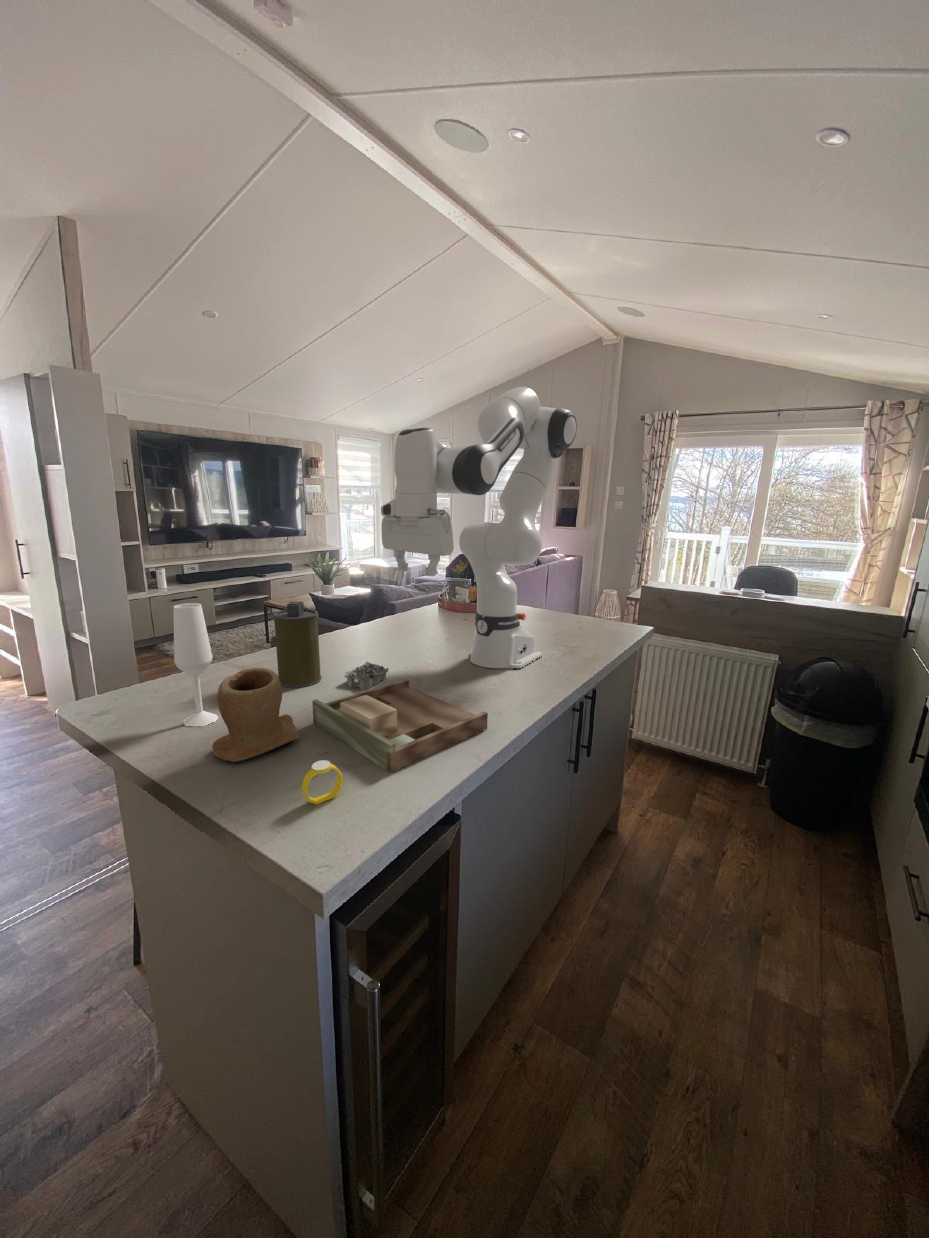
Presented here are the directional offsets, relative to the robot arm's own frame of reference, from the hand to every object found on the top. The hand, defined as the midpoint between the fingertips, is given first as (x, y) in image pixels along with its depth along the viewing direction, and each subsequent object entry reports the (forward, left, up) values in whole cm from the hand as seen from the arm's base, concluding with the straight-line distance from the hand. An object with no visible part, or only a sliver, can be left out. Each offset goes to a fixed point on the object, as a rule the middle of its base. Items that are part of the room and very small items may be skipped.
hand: (416, 573), depth 108 cm
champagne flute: (+40, -21, -29) cm, 54 cm away
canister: (+14, -29, -29) cm, 44 cm away
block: (+19, +9, -27) cm, 34 cm away
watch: (+36, +21, -29) cm, 51 cm away
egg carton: (+2, -17, -30) cm, 34 cm away
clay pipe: (+36, -1, -29) cm, 46 cm away
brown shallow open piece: (+12, +9, -29) cm, 33 cm away
